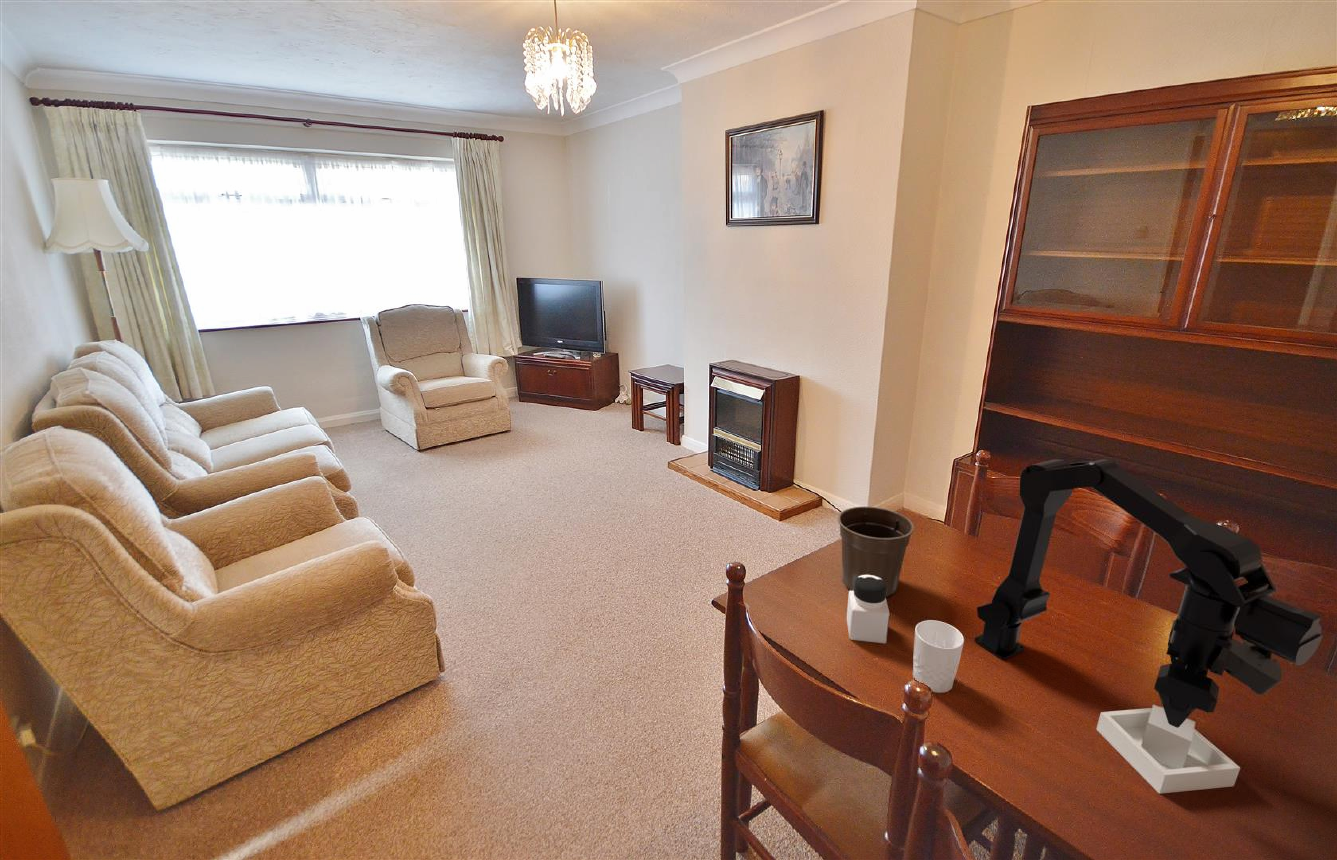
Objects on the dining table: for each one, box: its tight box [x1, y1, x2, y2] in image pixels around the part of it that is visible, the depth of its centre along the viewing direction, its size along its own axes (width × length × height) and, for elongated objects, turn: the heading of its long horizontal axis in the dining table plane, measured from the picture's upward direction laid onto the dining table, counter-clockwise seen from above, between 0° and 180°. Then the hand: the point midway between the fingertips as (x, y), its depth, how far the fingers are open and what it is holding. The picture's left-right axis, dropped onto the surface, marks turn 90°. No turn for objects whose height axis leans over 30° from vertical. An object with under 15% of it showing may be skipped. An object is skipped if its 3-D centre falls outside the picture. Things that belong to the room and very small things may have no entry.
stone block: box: [1141, 704, 1196, 769], centre depth 89 cm, size 5×5×6 cm
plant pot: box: [837, 506, 915, 597], centre depth 133 cm, size 16×16×16 cm
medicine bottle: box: [846, 575, 891, 644], centre depth 118 cm, size 7×7×12 cm
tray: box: [1096, 706, 1241, 794], centre depth 89 cm, size 12×12×4 cm
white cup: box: [912, 619, 965, 694], centre depth 105 cm, size 8×8×10 cm
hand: (1177, 708), depth 87 cm, fingers open, 9 cm apart
